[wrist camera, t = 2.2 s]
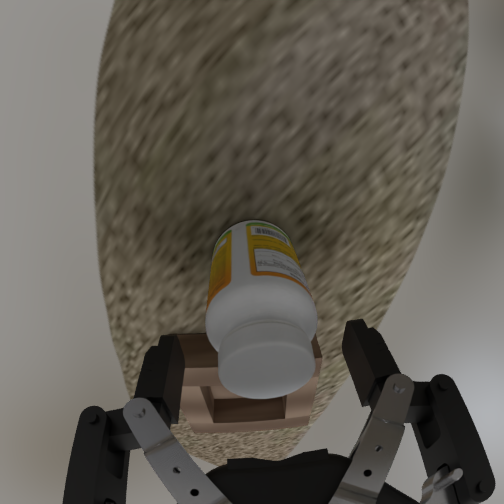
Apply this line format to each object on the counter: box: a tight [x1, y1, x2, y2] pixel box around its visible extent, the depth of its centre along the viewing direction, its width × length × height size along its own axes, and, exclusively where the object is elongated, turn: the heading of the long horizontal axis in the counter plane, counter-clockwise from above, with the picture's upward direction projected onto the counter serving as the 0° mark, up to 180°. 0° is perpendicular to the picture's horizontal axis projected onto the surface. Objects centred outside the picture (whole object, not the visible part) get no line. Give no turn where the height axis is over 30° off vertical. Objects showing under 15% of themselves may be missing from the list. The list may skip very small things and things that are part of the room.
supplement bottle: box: [206, 220, 318, 399], centre depth 15 cm, size 5×5×10 cm
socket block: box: [177, 334, 323, 433], centre depth 24 cm, size 12×12×4 cm
